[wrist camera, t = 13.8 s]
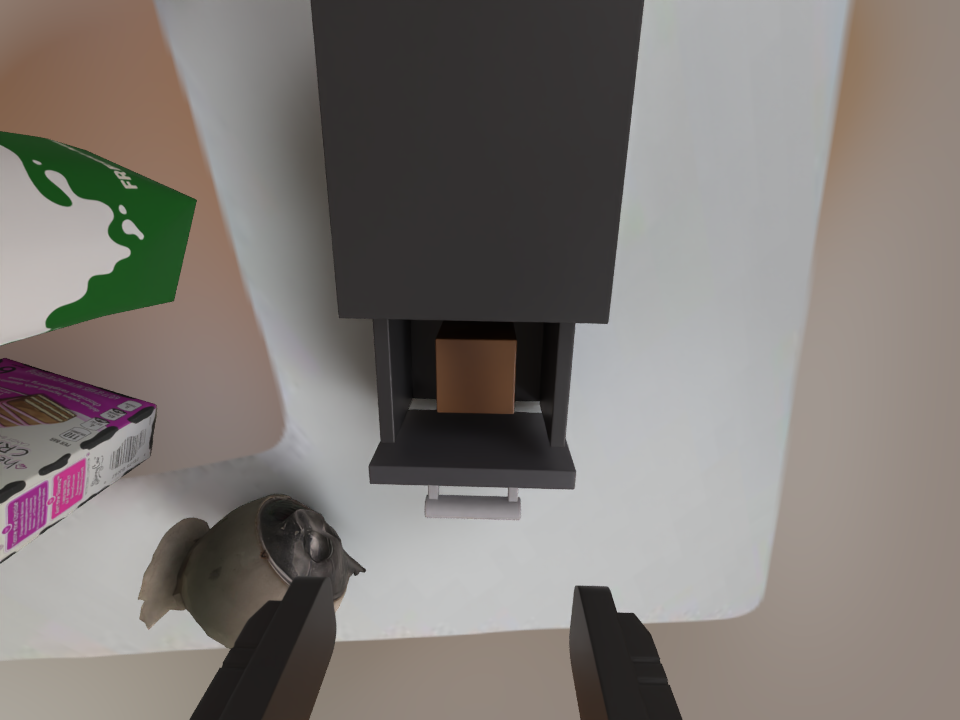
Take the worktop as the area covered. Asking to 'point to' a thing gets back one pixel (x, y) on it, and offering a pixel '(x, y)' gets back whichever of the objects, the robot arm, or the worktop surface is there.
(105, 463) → the candy bar box
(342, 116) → the cabinet
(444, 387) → the block
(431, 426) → the drawer
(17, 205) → the milk carton
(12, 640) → the worktop surface
